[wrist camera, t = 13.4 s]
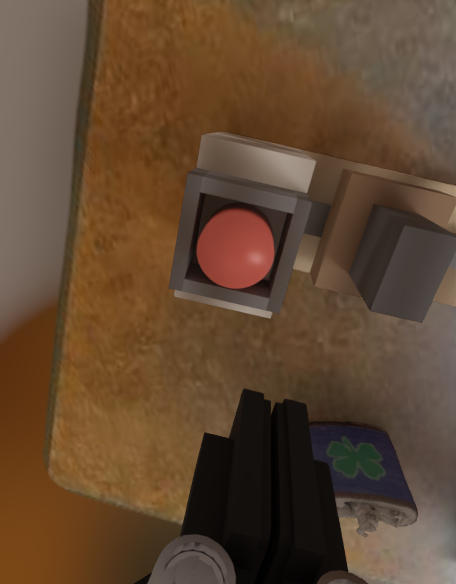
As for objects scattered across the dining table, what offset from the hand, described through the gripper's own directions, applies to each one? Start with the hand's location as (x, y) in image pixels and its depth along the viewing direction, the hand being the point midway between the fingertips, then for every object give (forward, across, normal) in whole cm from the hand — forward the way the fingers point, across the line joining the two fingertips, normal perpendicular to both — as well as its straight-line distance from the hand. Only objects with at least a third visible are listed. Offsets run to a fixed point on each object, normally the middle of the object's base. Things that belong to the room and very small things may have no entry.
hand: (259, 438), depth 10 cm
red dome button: (+12, +2, -2) cm, 12 cm away
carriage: (+21, -7, -2) cm, 23 cm away
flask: (+25, -13, +19) cm, 34 cm away
